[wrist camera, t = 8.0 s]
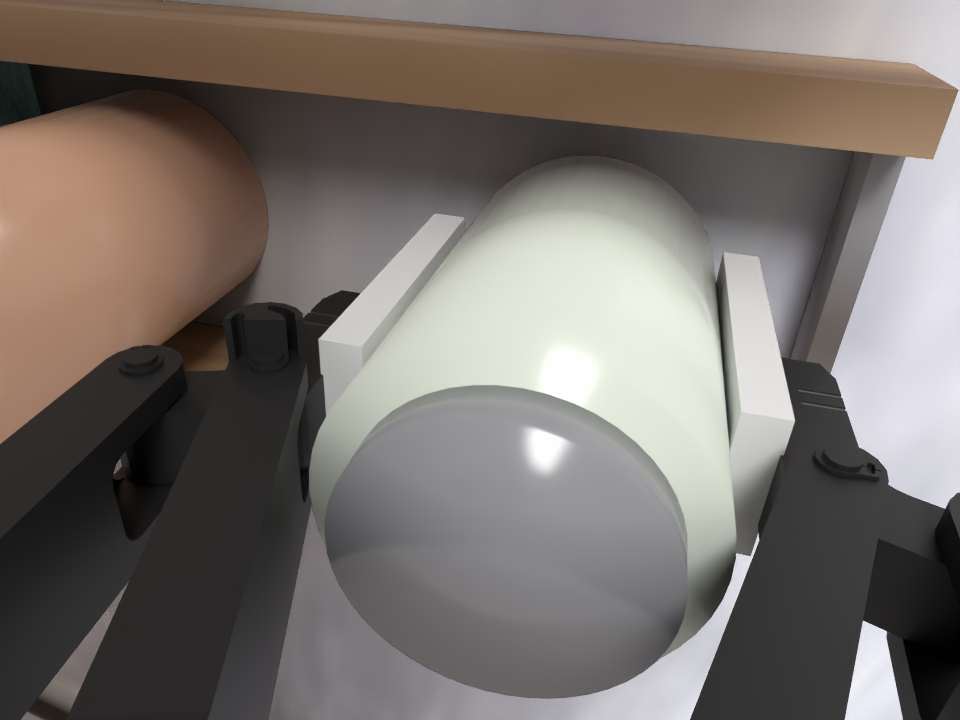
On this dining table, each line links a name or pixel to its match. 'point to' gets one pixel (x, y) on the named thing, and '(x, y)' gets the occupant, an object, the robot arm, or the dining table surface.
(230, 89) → the dining table surface
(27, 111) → the pusher
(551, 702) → the dining table surface
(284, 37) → the lane
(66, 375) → the jar in lane
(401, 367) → the jar
